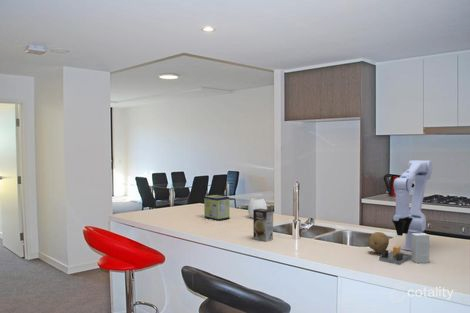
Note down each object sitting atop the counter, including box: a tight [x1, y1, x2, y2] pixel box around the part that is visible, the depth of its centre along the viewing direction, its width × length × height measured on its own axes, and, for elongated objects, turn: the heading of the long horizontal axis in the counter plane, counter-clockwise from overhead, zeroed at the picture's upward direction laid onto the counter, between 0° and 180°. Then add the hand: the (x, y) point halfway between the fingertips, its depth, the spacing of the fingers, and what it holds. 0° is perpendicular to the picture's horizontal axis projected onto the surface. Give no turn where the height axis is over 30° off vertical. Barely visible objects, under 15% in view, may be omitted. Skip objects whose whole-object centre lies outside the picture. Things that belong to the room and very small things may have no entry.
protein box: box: [203, 194, 231, 222], centre depth 279 cm, size 10×16×16 cm
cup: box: [247, 197, 268, 219], centre depth 280 cm, size 13×13×14 cm
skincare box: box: [411, 232, 430, 264], centre depth 174 cm, size 6×4×12 cm
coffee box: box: [252, 208, 274, 243], centre depth 217 cm, size 9×6×16 cm
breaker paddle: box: [392, 245, 401, 256], centre depth 178 cm, size 3×2×4 cm, turn 135°
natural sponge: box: [367, 231, 390, 255], centre depth 188 cm, size 9×9×10 cm
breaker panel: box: [378, 249, 412, 265], centre depth 178 cm, size 13×9×4 cm
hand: (402, 234), depth 182 cm, fingers open, 5 cm apart
